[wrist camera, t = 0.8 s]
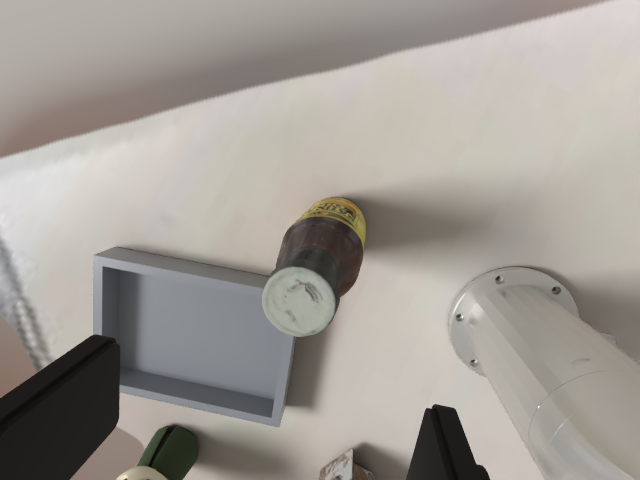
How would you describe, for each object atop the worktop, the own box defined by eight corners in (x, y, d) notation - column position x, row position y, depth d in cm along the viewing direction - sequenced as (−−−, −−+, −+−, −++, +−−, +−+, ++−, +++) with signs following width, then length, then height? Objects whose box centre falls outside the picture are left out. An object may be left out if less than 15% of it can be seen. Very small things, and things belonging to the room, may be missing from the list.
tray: (305, 283, 40) (300, 295, 36) (285, 405, 44) (279, 427, 40) (115, 246, 41) (93, 255, 38) (113, 368, 45) (93, 386, 42)
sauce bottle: (361, 190, 37) (363, 234, 17) (369, 250, 38) (378, 351, 19) (298, 199, 37) (234, 250, 18) (308, 257, 39) (257, 360, 20)
